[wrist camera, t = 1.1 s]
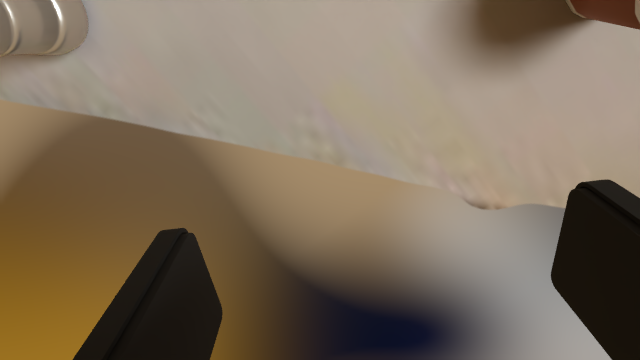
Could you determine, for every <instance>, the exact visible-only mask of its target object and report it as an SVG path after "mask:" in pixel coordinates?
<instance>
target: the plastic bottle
mask: <svg viewBox="0 0 640 360" xmlns="http://www.w3.org/2000/svg"><path fill="white" fill-rule="evenodd" d="M87 33H88V17H87V13H86V10H85V7H84V5H83V3H82V1H81V0H0V57H1V56H6V55H22V54H36V55H62V54H66V53H68V52H70V51H72V50H74V49H75V48H77V47H79V46H80V45H81V44H82V43H83V42H84V40H85V39H86V36H87Z"/></svg>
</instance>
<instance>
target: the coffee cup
mask: <svg viewBox="0 0 640 360" xmlns="http://www.w3.org/2000/svg"><path fill="white" fill-rule="evenodd" d="M565 1H566V2H567V4H568V6H569V8H570V9H571V11H572V12H573V13H575V14H577V15H578V16H580V17H582V18H588V19H593V20H598V21H602V22H607V23H612V24H616V25H621V26H626V27H630V28H635V29H640V0H565Z"/></svg>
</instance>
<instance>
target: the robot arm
mask: <svg viewBox="0 0 640 360" xmlns="http://www.w3.org/2000/svg"><path fill="white" fill-rule="evenodd" d="M551 280H552V283H553V285H554V287H555V289H556V290H557V291H558V292H559V293H560V295H561V296H562V297H563V299H564V300H565V301H566V302H567V303H568V305H569V306H570V307H571V308H572V310H573V311H574V312H575V313H576V315H577V316H578V317H579V319H580V320H581V321H582V322H583V324H584V325H585V326H586V327H587V329H588V330H589V331H590V332H591V334H592V335H593V336H594V337H595V339H596V340H597V341H598V342H599V344H600V345H601V346H602V347H603V349H604V350H605V351H606V353H607V354H608V355H609V356H610V358H611V359H612V360H640V198H638V197H637V196H635V195H634V194H632V193H631V192H629V191H628V190H626V189H624V188H623V187H621V186H620V185H618V184H617V183H615V182H613V181H611V180H597V181H589V182H581V183H579V184H578V185H577V186H576V188H575V189H573V190H571V192H570V193H569V196H568V200H567V205H566V209H565V213H564V218H563V223H562V227H561V232H560V236H559V240H558V244H557V249H556V253H555V258H554V262H553V266H552V271H551ZM221 320H222V307H221V304H220V301H219V298H218V296H217V293H216V290H215V288H214V285H213V282H212V280H211V277H210V274H209V272H208V269H207V266H206V264H205V261H204V258H203V256H202V253H201V250H200V248H199V245H198V242H197V240H196V237H195V235H194V234H193V233H188V231H187V230H186V229H185V228H178V229H170V230H162V231H160V232H159V233H158V234H157V236H156V237H155V239H154V240H153V242H152V243H151V245H150V246H149V248H148V249H147V251H146V252H145V253H144V255H143V256H142V258H141V259H140V261H139V262H138V264H137V265H136V267H135V268H134V270H133V271H132V273H131V274H130V276H129V277H128V279H127V280H126V282H125V283H124V285H123V286H122V287H121V289H120V290H119V292H118V293H117V295H116V296H115V298H114V299H113V301H112V302H111V304H110V305H109V307H108V308H107V310H106V311H105V313H104V314H103V315H102V317H101V318H100V320H99V321H98V323H97V324H96V326H95V327H94V329H93V330H92V332H91V333H90V335H89V336H88V338H87V339H86V341H85V342H84V344H83V345H82V347H81V348H80V350H79V351H78V352H77V354H76V355H75V357H74V359H73V360H210V357H211V354H212V350H213V347H214V344H215V340H216V337H217V334H218V330H219V327H220V324H221Z"/></svg>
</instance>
